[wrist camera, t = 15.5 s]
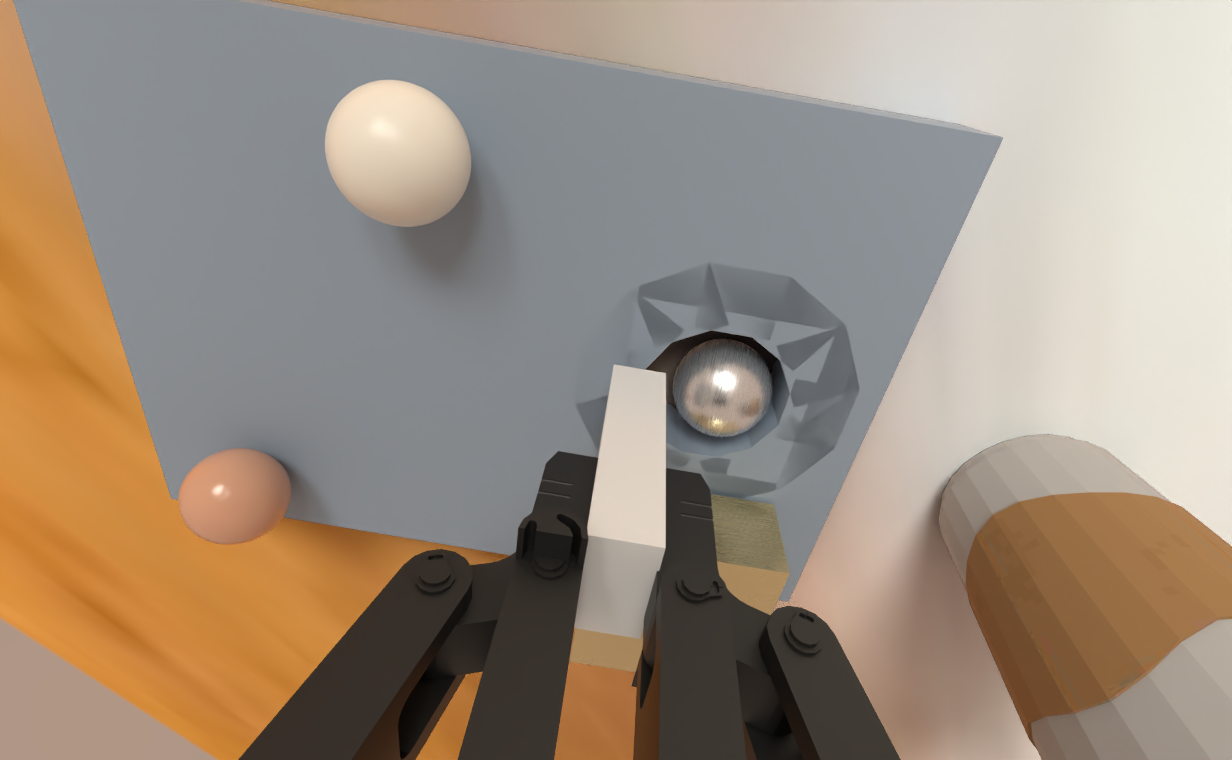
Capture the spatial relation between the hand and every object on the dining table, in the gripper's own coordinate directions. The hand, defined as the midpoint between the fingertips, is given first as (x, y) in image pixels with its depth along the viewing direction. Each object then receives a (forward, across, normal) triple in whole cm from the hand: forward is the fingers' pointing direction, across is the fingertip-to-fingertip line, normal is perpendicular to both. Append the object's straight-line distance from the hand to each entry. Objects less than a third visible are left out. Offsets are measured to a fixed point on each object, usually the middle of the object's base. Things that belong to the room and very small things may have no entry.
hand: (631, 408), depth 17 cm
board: (+4, -4, 0) cm, 6 cm away
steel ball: (+2, +3, 0) cm, 4 cm away
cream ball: (0, -6, +6) cm, 9 cm away
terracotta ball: (0, -12, -6) cm, 14 cm away
